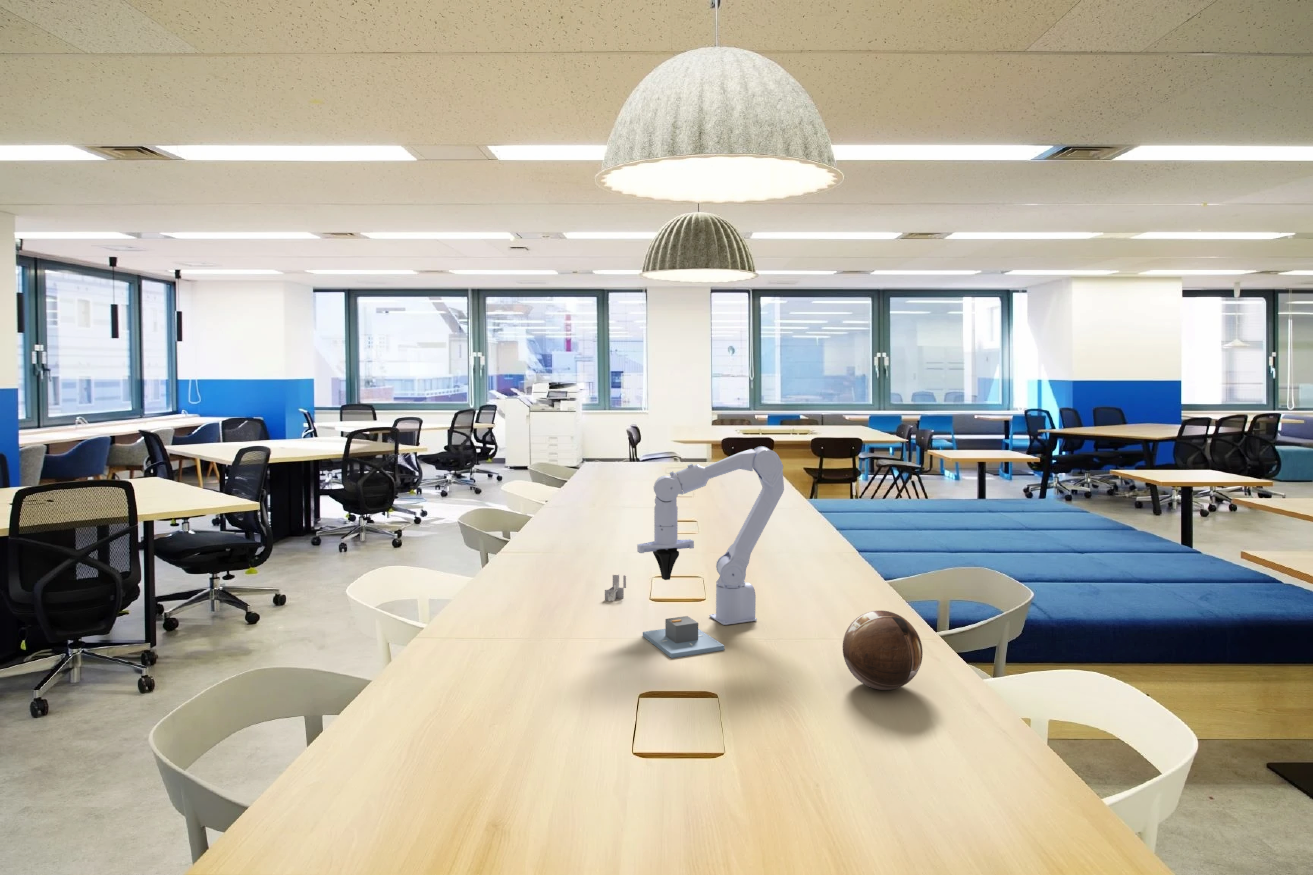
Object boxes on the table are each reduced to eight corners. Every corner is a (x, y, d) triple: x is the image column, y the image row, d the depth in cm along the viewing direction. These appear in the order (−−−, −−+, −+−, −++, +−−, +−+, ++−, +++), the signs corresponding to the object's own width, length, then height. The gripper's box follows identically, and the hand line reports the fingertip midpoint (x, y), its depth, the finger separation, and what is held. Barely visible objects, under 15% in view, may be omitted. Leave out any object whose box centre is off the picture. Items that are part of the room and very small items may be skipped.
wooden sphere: (826, 679, 161) (827, 606, 160) (886, 668, 167) (888, 598, 166) (874, 708, 147) (876, 628, 146) (938, 695, 153) (940, 618, 152)
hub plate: (692, 629, 193) (692, 614, 193) (724, 649, 178) (724, 634, 178) (642, 636, 188) (642, 620, 187) (671, 658, 173) (671, 641, 173)
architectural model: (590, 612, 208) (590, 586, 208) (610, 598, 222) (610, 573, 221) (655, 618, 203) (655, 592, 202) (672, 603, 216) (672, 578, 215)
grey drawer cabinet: (687, 632, 187) (687, 614, 187) (698, 640, 182) (698, 621, 182) (665, 636, 185) (665, 617, 184) (675, 643, 180) (676, 624, 179)
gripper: (685, 520, 205) (685, 572, 206) (632, 524, 199) (632, 578, 200) (697, 524, 198) (697, 578, 199) (643, 529, 192) (643, 584, 193)
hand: (665, 579), depth 199 cm, fingers closed
